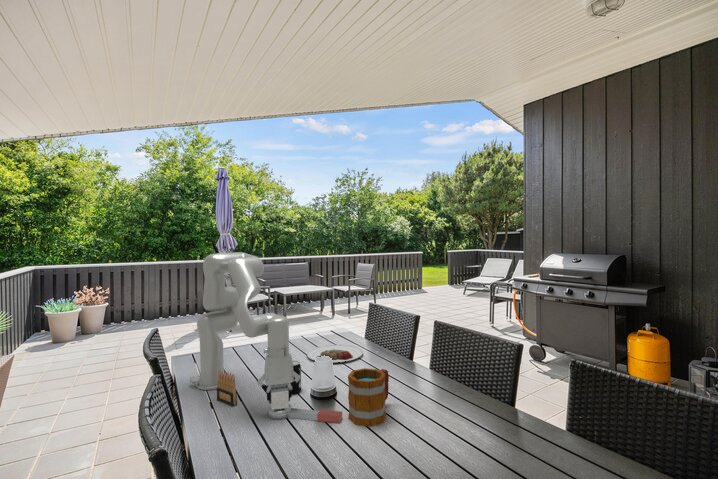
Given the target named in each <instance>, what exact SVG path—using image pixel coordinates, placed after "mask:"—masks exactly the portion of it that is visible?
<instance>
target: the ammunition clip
mask: <svg viewBox="0 0 718 479" xmlns="http://www.w3.org/2000/svg"><path fill="white" fill-rule="evenodd" d="M235 380H236V377H235V375H234V374H233V373H229V372H226V371H224V373H223V371H222V372H221V371H220V370H219V372H218V387H217V389H216V401H218V402H221V403H223V404H224V405H228V406H230V407H235V406H237V405H238V399H237V398H238V394H237V391H236V388H237V387H236V386H237V385H236V381H235Z"/></svg>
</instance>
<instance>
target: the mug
mask: <svg viewBox="0 0 718 479" xmlns="http://www.w3.org/2000/svg"><path fill="white" fill-rule="evenodd" d="M389 378H390V375H389V370H387V369H383V368H382V369H377V368H376V369H375V368H360V369H354V370H351V371H350V373H348V375H347V380H348V394H347V395H348V396H347V397H348V420H349V421H350V422H352V424H354V425H355V426H361V427H369V428H370V427H374V426H376V425H380V424H384V422H385V419H386V417H387V411H386V401H387V400H388V396H389V382H390V380H389Z"/></svg>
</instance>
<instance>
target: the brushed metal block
mask: <svg viewBox="0 0 718 479" xmlns="http://www.w3.org/2000/svg"><path fill="white" fill-rule="evenodd" d="M270 390H271V404H270V406H271V410H274V409H281V408H288V407H289V402H290V401H289V395H288V385H287V384H282V385H273V386H272V387H271V389H270Z"/></svg>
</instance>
